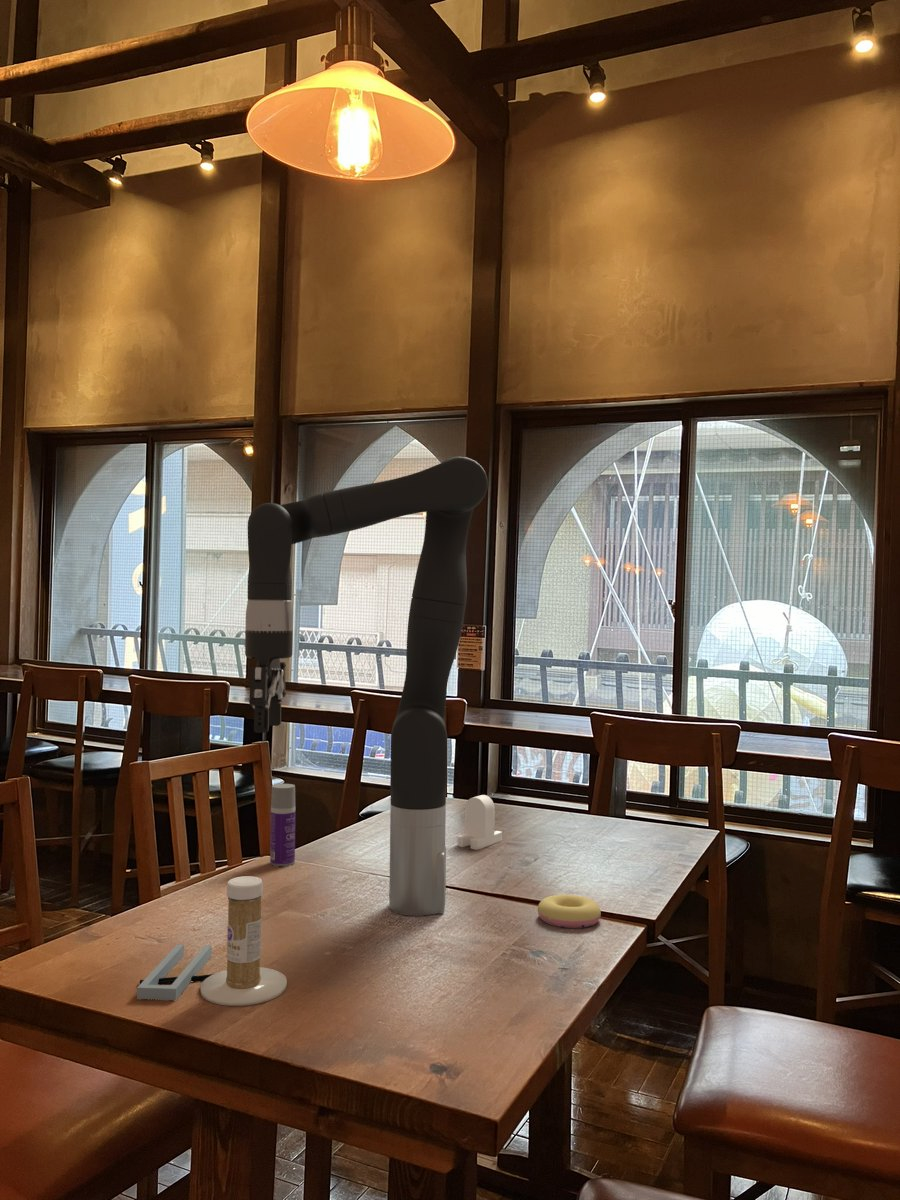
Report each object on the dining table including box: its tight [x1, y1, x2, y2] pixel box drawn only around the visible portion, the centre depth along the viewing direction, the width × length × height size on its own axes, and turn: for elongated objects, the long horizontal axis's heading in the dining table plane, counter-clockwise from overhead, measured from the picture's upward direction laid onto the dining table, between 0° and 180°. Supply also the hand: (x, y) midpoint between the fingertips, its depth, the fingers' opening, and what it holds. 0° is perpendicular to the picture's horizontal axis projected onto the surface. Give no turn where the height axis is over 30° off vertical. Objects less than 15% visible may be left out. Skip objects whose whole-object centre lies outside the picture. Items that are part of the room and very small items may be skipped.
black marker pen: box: [139, 973, 221, 985], centre depth 124 cm, size 12×1×1 cm, turn 104°
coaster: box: [200, 966, 288, 1007], centre depth 122 cm, size 11×11×1 cm
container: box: [269, 783, 296, 867], centre depth 180 cm, size 5×5×15 cm
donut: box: [537, 894, 602, 929], centre depth 150 cm, size 10×5×9 cm
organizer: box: [457, 794, 503, 850], centre depth 198 cm, size 5×10×10 cm, turn 144°
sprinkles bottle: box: [226, 875, 264, 988], centre depth 122 cm, size 5×5×13 cm
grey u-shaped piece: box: [136, 943, 212, 1001], centre depth 125 cm, size 5×15×2 cm, turn 177°
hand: (267, 728), depth 150 cm, fingers open, 8 cm apart
